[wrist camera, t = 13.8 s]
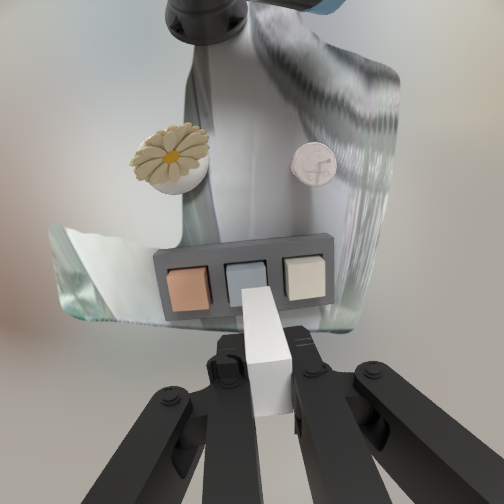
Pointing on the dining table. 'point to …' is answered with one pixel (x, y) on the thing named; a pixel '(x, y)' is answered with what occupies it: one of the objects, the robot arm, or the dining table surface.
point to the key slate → (244, 278)
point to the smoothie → (314, 164)
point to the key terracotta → (189, 288)
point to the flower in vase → (173, 159)
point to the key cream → (304, 276)
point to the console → (243, 252)
